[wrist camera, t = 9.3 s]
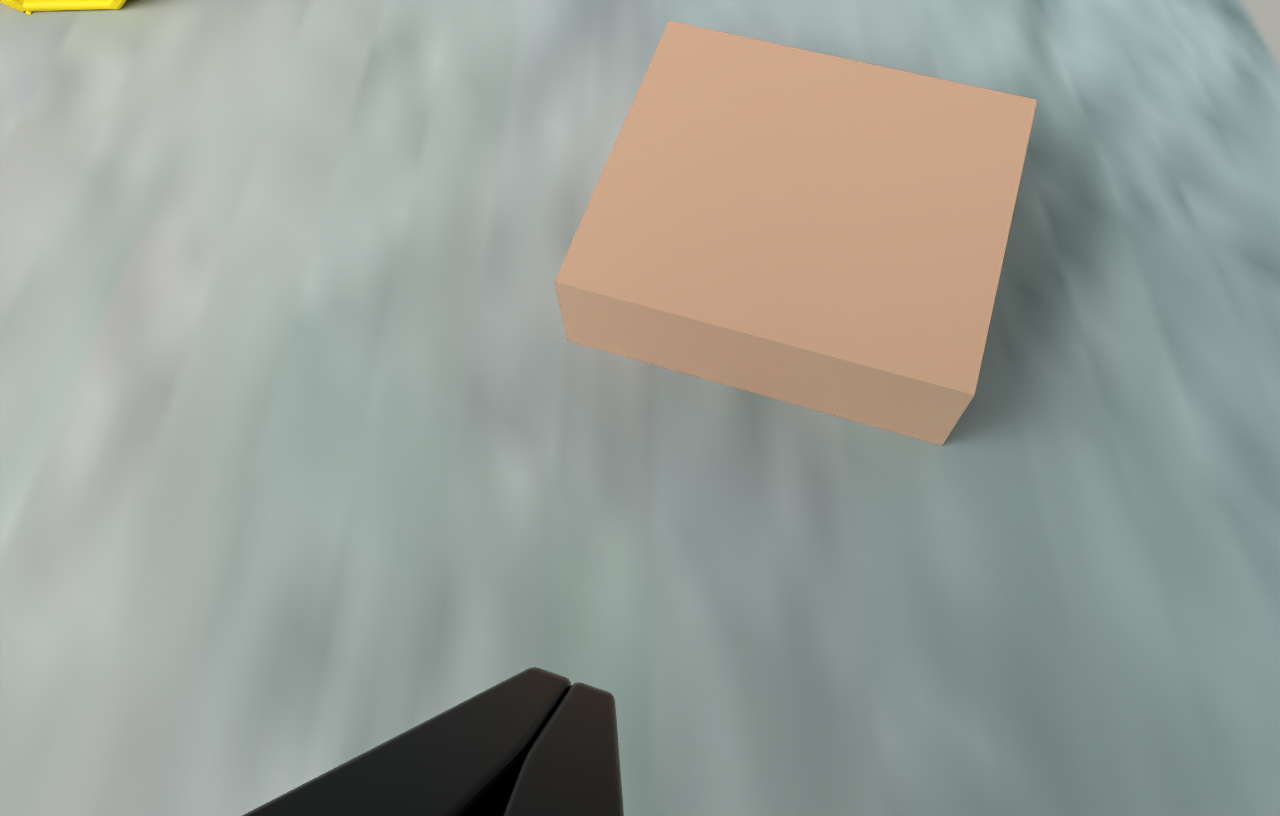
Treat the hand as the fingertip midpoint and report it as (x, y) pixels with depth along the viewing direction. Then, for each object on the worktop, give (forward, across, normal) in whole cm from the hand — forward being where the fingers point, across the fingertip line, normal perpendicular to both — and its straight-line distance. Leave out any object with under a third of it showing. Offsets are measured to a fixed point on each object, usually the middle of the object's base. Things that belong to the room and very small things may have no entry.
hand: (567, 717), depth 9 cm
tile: (+13, 0, 0) cm, 13 cm away
